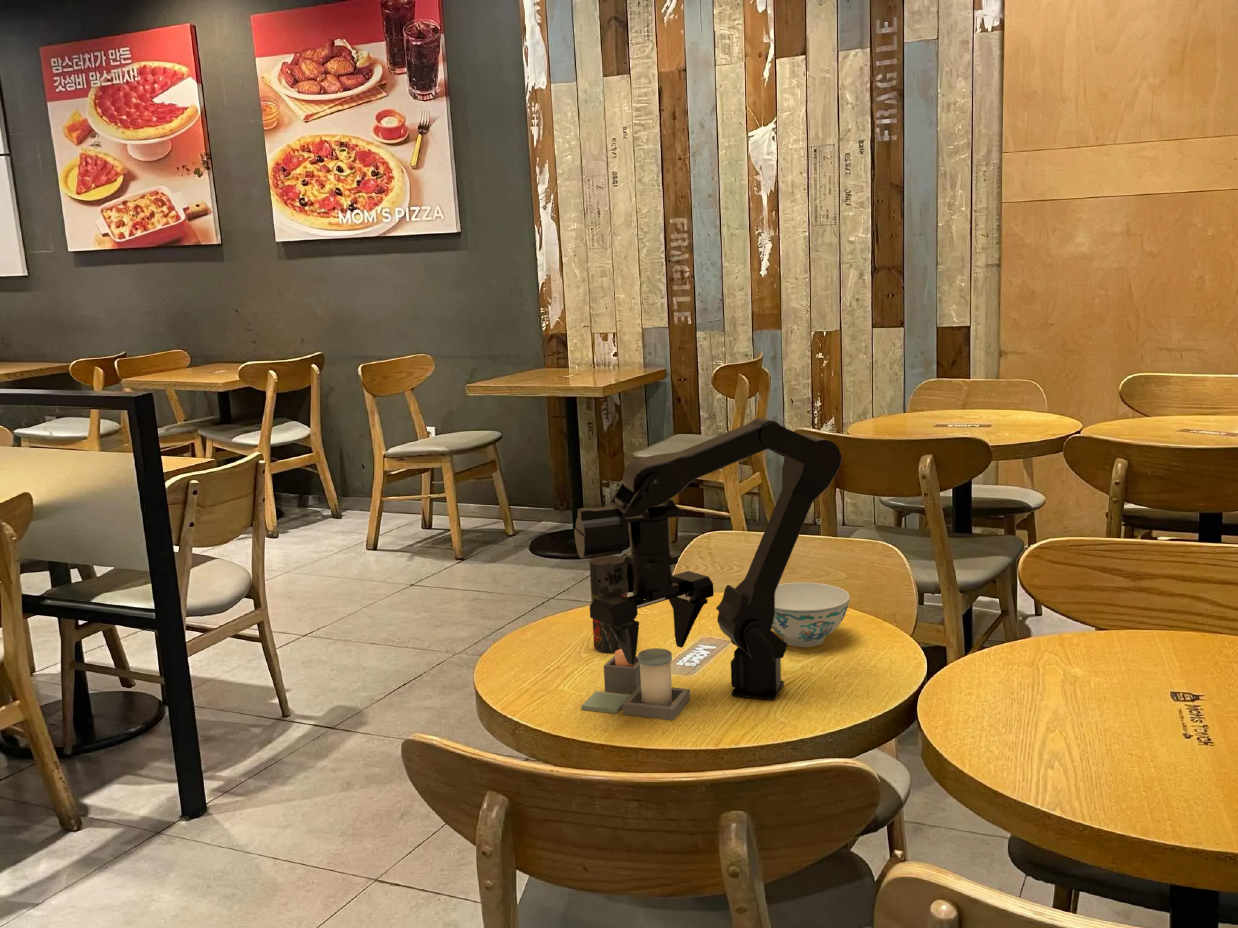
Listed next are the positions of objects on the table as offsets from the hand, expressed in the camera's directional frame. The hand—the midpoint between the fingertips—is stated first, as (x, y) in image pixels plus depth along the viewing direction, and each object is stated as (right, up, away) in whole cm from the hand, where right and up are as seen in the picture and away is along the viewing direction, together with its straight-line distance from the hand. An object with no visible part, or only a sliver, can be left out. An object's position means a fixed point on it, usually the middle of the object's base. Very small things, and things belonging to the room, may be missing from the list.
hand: (655, 654), depth 157 cm
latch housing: (-4, -6, +9) cm, 12 cm away
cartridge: (0, -8, +1) cm, 8 cm away
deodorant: (-6, -4, +27) cm, 28 cm away
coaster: (-7, -8, +3) cm, 11 cm away
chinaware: (+25, -2, +26) cm, 36 cm away
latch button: (-4, -5, +9) cm, 11 cm away
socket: (0, -8, +1) cm, 8 cm away
